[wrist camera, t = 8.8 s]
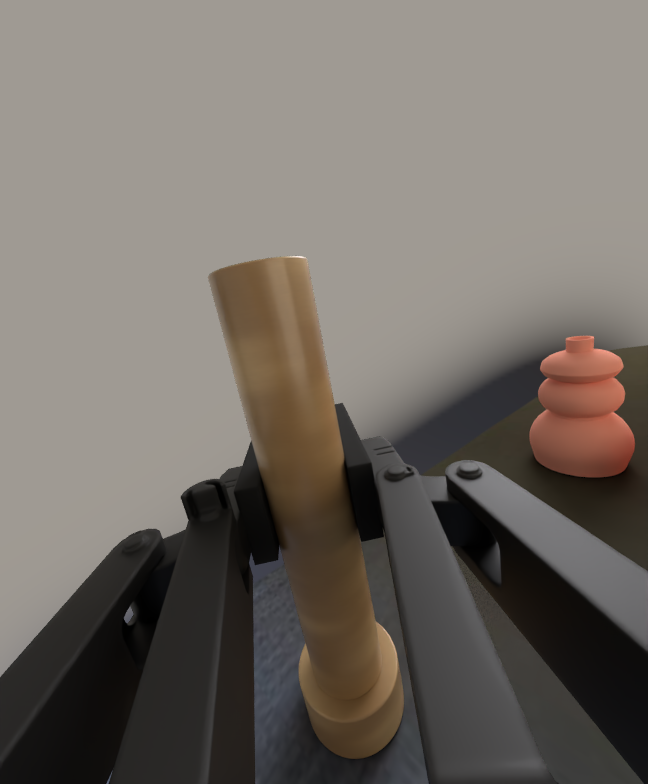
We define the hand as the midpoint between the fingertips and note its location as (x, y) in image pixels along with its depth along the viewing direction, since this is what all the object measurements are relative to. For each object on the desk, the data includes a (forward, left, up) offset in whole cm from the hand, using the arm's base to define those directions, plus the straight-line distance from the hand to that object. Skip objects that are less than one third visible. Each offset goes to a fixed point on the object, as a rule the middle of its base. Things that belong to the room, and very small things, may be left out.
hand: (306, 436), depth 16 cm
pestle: (0, -5, -10) cm, 11 cm away
